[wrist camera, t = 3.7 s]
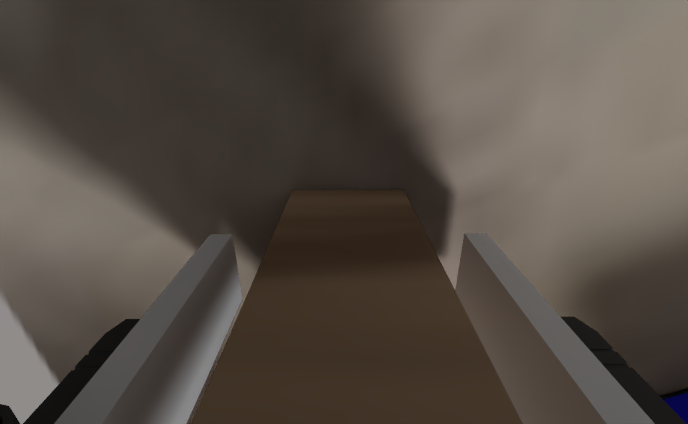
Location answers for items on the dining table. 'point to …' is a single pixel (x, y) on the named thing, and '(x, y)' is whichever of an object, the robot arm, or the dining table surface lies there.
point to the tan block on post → (353, 326)
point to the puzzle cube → (678, 403)
